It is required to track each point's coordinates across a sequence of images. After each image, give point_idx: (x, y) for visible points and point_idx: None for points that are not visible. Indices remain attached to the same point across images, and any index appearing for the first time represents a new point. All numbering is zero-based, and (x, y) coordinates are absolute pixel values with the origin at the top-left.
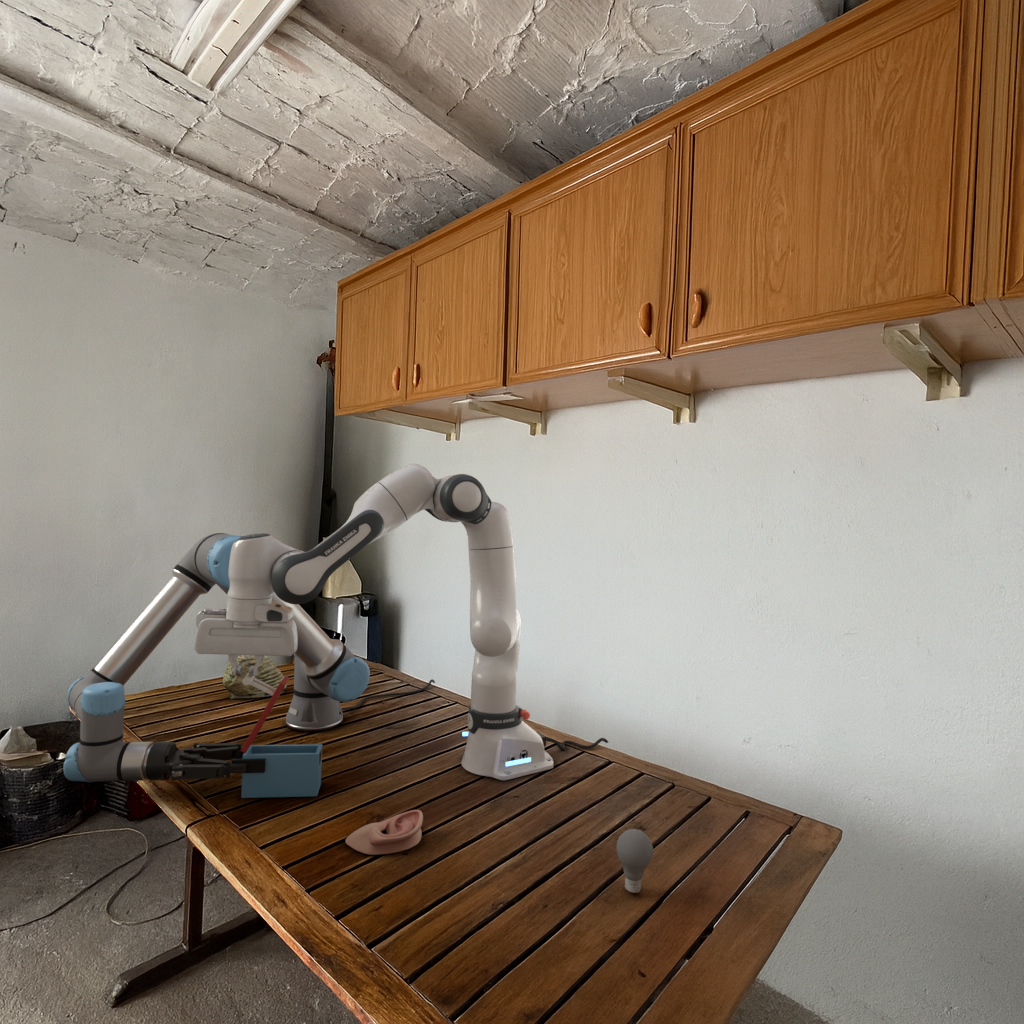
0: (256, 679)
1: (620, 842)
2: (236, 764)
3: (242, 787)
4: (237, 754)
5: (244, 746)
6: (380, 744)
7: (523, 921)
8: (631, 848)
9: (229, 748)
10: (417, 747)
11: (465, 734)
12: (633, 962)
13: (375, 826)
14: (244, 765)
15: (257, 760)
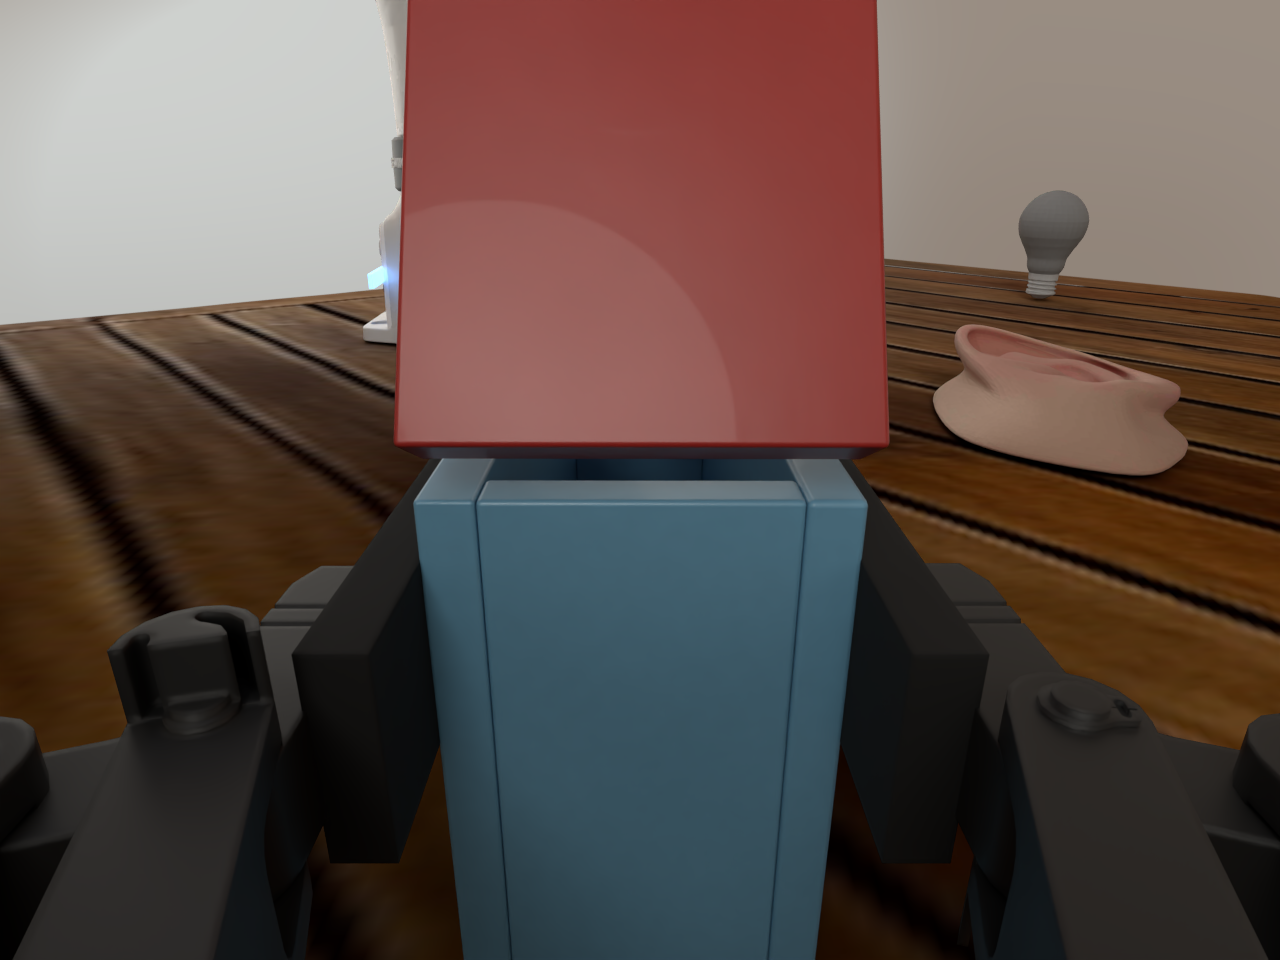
0: None
1: (1072, 210)
2: (997, 643)
3: (818, 914)
4: (293, 825)
5: (877, 346)
6: (100, 452)
7: (1232, 341)
8: (1086, 209)
9: (188, 854)
10: (242, 397)
11: (375, 281)
12: (1233, 309)
13: (1091, 383)
14: (978, 575)
15: (858, 475)
